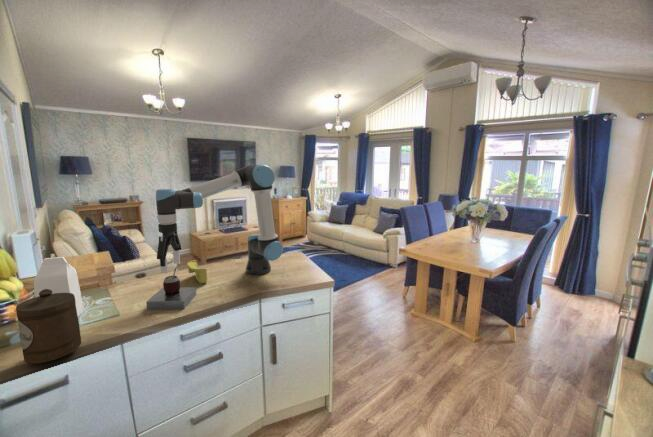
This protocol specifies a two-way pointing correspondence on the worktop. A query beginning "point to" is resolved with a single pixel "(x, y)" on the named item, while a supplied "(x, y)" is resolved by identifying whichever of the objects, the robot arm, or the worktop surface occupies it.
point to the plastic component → (198, 272)
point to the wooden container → (48, 326)
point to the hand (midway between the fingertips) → (171, 268)
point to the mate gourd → (171, 284)
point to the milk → (58, 279)
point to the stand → (171, 299)
